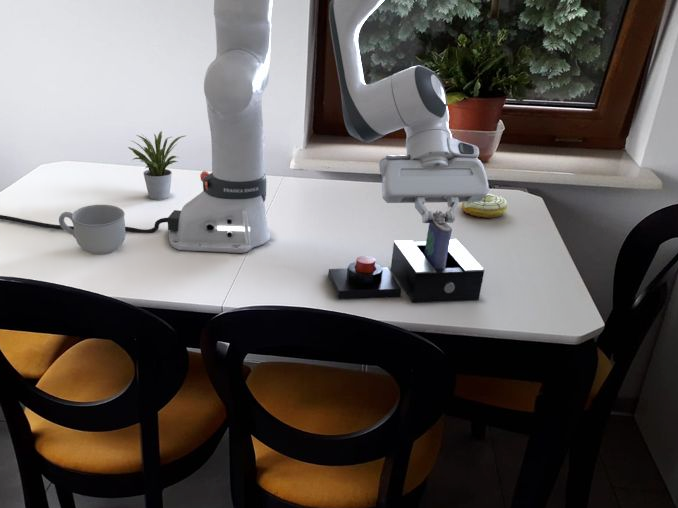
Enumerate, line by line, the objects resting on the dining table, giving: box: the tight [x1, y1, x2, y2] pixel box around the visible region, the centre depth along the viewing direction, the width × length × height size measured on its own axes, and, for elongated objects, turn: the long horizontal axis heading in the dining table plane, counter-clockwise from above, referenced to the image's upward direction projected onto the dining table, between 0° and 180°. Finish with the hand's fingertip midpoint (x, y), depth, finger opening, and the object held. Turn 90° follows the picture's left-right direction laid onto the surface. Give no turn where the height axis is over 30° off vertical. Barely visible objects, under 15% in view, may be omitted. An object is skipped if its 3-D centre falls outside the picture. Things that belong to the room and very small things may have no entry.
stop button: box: [355, 255, 376, 273], centre depth 134 cm, size 4×4×2 cm
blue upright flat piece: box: [424, 210, 453, 269], centre depth 134 cm, size 9×3×11 cm, turn 3°
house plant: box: [127, 130, 186, 201], centre depth 176 cm, size 14×14×16 cm
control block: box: [327, 261, 402, 300], centre depth 135 cm, size 12×10×4 cm
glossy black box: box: [390, 238, 485, 304], centre depth 136 cm, size 14×16×6 cm
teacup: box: [58, 204, 126, 255], centre depth 148 cm, size 14×11×8 cm
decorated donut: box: [461, 193, 508, 219], centre depth 174 cm, size 10×11×4 cm
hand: (439, 221), depth 132 cm, fingers closed on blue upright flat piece, 3 cm apart
